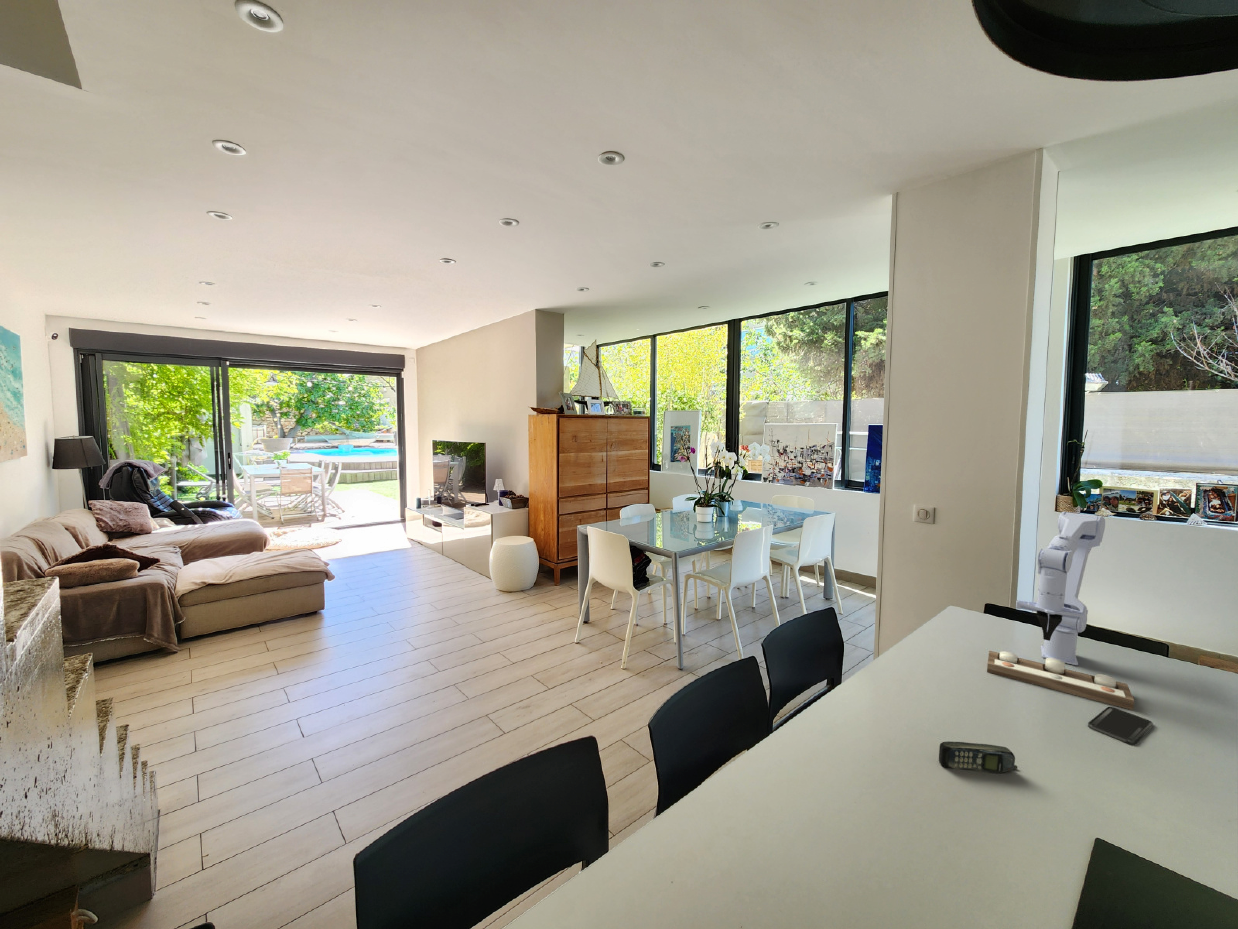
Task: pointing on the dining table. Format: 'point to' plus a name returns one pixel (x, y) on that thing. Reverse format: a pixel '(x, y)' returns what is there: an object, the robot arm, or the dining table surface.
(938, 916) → the dining table surface
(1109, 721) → the phone
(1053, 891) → the dining table surface
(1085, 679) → the button board
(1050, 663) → the middle button
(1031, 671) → the pattern card
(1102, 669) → the dining table surface
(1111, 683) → the end button
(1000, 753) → the mobile phone
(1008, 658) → the end button
